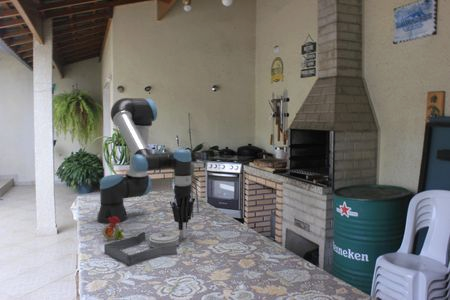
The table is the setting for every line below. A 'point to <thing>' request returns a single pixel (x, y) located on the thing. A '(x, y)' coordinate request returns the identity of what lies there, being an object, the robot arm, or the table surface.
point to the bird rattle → (110, 231)
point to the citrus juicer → (195, 186)
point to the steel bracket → (115, 252)
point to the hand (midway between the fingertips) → (182, 236)
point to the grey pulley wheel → (163, 239)
